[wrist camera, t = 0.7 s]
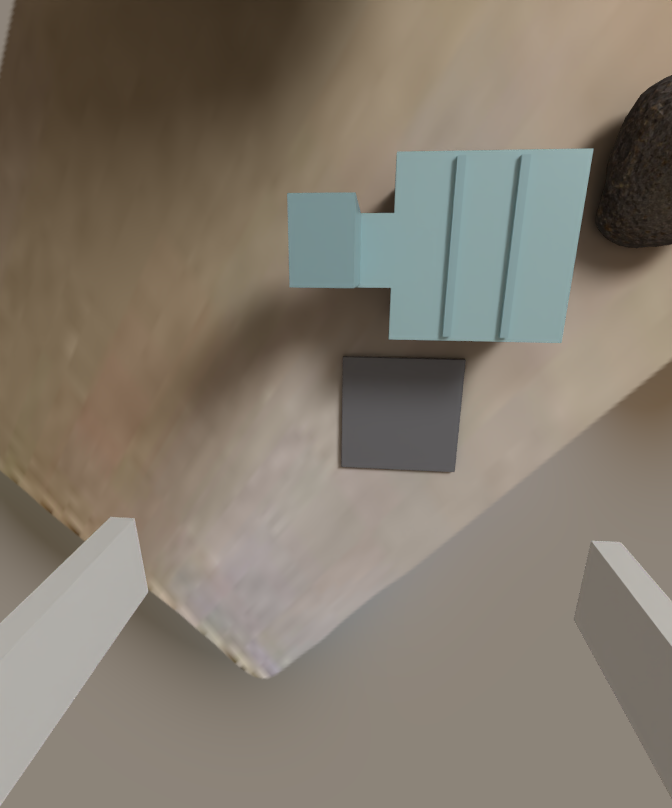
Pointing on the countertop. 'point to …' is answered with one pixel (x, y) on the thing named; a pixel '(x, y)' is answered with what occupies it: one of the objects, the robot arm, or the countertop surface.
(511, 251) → the pale blue ridged block
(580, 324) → the countertop surface
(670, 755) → the robot arm
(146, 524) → the countertop surface
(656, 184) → the stone
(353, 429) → the mat
